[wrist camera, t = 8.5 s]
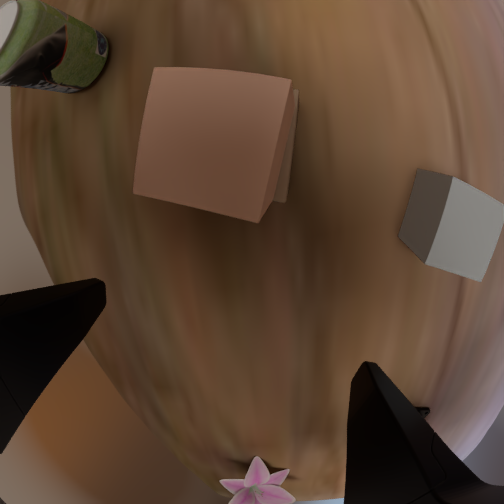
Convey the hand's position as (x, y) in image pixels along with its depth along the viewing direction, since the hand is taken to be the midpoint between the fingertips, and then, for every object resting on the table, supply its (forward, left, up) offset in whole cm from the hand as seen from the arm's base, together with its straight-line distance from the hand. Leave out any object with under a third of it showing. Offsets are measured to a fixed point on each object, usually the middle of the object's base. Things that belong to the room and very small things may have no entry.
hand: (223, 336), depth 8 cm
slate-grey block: (-11, -5, -12) cm, 17 cm away
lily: (-8, +37, -12) cm, 40 cm away
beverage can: (+18, -12, -12) cm, 24 cm away
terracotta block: (+2, -6, -8) cm, 10 cm away
